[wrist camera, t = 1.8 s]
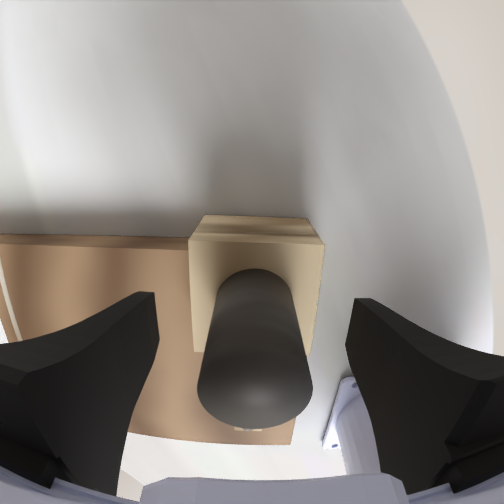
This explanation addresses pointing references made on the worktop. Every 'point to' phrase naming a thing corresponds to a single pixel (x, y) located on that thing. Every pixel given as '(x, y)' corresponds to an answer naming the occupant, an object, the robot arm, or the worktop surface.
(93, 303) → the board
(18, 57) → the worktop surface
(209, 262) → the rubber stamp
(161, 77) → the worktop surface
